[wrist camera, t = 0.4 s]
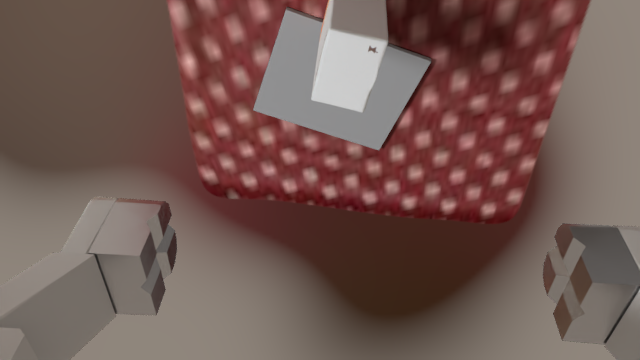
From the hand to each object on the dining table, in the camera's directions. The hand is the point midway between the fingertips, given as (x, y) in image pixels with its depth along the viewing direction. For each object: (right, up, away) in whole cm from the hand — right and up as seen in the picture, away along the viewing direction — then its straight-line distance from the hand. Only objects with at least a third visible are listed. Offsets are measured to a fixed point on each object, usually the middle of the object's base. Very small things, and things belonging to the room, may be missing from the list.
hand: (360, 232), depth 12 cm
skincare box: (+2, +16, +36) cm, 39 cm away
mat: (+1, +11, +42) cm, 43 cm away
